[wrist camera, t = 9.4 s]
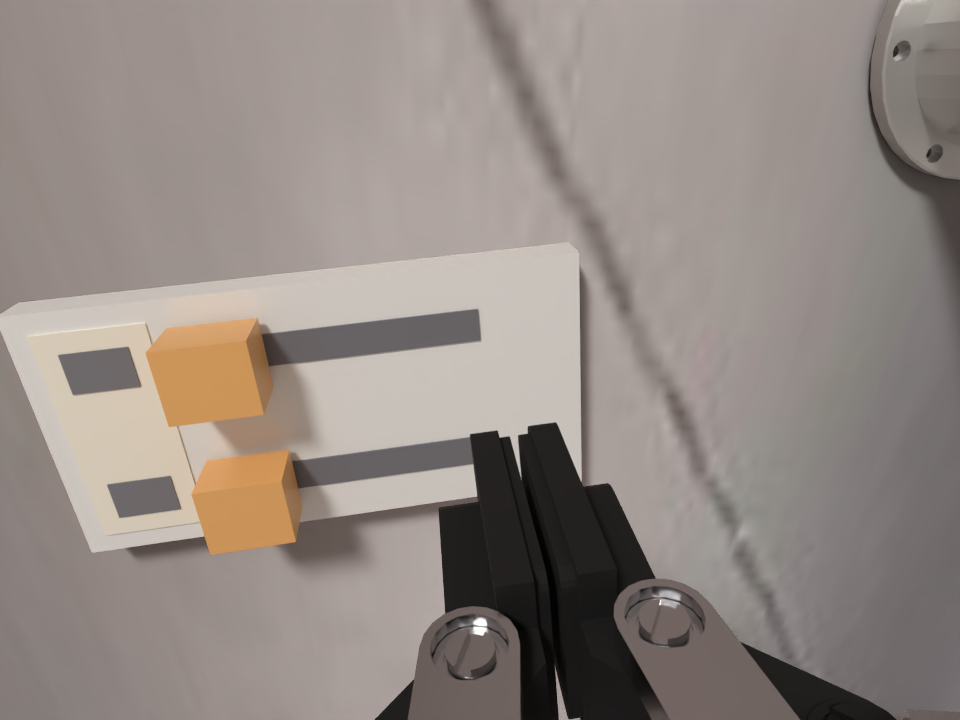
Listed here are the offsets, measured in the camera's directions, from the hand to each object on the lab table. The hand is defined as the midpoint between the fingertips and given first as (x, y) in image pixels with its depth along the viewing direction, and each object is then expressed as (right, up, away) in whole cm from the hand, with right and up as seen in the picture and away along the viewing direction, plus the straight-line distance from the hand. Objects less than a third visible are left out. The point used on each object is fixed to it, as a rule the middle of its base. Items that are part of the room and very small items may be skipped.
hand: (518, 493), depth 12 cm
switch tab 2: (-12, -4, +20) cm, 24 cm away
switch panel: (-9, +1, +21) cm, 23 cm away
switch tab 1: (-13, +3, +17) cm, 22 cm away
